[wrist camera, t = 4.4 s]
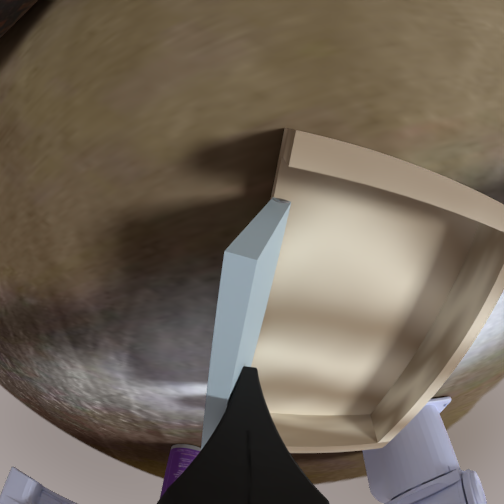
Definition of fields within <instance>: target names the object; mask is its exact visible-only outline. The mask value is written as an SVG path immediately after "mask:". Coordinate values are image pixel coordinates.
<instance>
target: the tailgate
mask: <svg viewBox="0 0 504 504" xmlns="http://www.w3.org/2000/svg"><path fill="white" fill-rule="evenodd" d="M290 206H291V201H287V200H285V199H281V198H274V197H273V198H272V199H271V200H270V201H269V202H268V203H267V204H266V205H265V207H264V208H263V209H262V210H261V211H260V212H259V213H258V214H257V215H256V217H255V218H254V219H253V220H252V221H251V222H250V223H249V224H248V225H247V226H246V228H245V229H244V230H243V231H242V232H241V233H240V234H239V235H238V237H237V238H236V239H235V240H234V241H233V242H232V243H231V244H230V245H229V247H228V248H227V249H226V250H225V251H224V258H223V265H222V272H221V280H220V287H219V295H218V302H217V310H216V318H215V325H214V334H213V342H212V350H211V359H210V367H209V376H208V385H207V394H206V404H205V414H204V424H203V434H202V445H201V450H202V448H203V447H204V445H205V444H206V443H207V441H208V440H209V438H210V437H211V435H212V434H213V432H214V430H215V429H216V427H217V425H218V424H219V422H220V420H221V418H222V416H223V414H224V412H225V410H226V408H227V406H228V404H229V402H230V399H231V397H232V395H233V392H234V389H235V387H236V384H237V380H238V377H239V375H240V373H241V370H242V368H243V366H247V367H251V364H252V361H253V357H254V353H255V349H256V345H257V342H258V338H259V334H260V330H261V326H262V322H263V318H264V314H265V310H266V306H267V303H268V298H269V294H270V290H271V286H272V282H273V278H274V274H275V270H276V266H277V262H278V257H279V253H280V249H281V245H282V240H283V236H284V232H285V228H286V223H287V219H288V214H289V210H290Z"/></svg>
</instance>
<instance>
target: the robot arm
mask: <svg viewBox="0 0 504 504" xmlns="http://www.w3.org/2000/svg"><path fill="white" fill-rule="evenodd" d="M450 401H451V397H443V398H436V399H430V400H429V401H428V403H427V404H426V405H425V406H424V407H423V408H422V409H421V410H420V412H419V413H418V414H417V415H416V416H415V417H414V418H413V419H412V420H411V421H410V422H409V423H408V424H407V425H406V426H405V427H404V428H403V429H402V430H401V431H400V432H399V433H398V434H397V435H396V436H395V437H394V438H393V439H392V440H391V441H390V442H389V443H388V444H386V445H385V446H384V447H383V448H378V449H369V450H362V451H363V456H364V461H365V466H366V471H367V477H368V482H369V488H370V491H371V493H372V495H373V496H374V497H375V498H376V499H377V500H378V501H379V502H382V503H384V504H487V502H486V497H485V494H484V490H483V487H482V484H481V482H480V479H479V477H478V475H477V473H476V472H475V471H472V470H469V469H467V470H466V471H462V470H460V467H459V464H458V461H457V458H456V456H455V453H454V450H453V447H452V445H451V442H450V439H449V437H448V434H447V432H446V429H445V427H444V424H443V422H442V419H441V417H440V414H439V413H440V412H441V411H442V410H443V409H444V408H445V407H446V406H447V405H448V404H449V402H450ZM0 504H77V503H75V502H73V501H71V500H69V499H67V498H64V497H62V496H60V495H58V494H57V493H55V492H53V491H51V490H49V489H47V488H45V487H44V486H42V485H41V484H40V483H39V482H37V481H35V480H34V479H32V478H31V477H29V476H27V475H26V474H24V473H23V472H21V471H19V470H18V469H17V468H15V467H11V470H10V472H9V475H8V477H7V480H6V482H5V485H4V487H3V490H2V492H1V495H0ZM157 504H329V501H328V500H327V499H326V498H325V497H324V496H323V495H322V494H321V493H320V492H319V490H317V488H316V487H315V486H314V485H313V484H312V483H311V481H310V480H309V479H308V478H307V477H306V475H305V474H304V473H303V471H302V470H301V469H300V467H299V466H298V464H297V463H296V462H295V460H294V459H293V457H292V456H291V454H290V452H289V451H288V449H287V448H286V446H285V444H284V442H283V440H282V439H281V437H280V435H279V433H278V431H277V429H276V426H275V424H274V422H273V420H272V417H271V415H270V412H269V410H268V407H267V404H266V402H265V399H264V395H263V392H262V389H261V385H260V381H259V376H258V370H257V368H254V367H247V366H243V368H242V370H241V373H240V375H239V377H238V380H237V384H236V387H235V389H234V392H233V395H232V397H231V399H230V402H229V404H228V406H227V408H226V410H225V412H224V414H223V416H222V418H221V420H220V422H219V424H218V425H217V427H216V429H215V430H214V432H213V434H212V435H211V437H210V438H209V440H208V441H207V443H206V444H205V445H204V447H203V448H202V450H201V451H200V452H199V454H198V455H197V456H196V458H195V459H194V460H193V461H192V462H191V464H190V465H189V466H188V467H187V468H186V469H185V471H184V472H183V473H182V474H181V475H180V476H179V477H178V478H177V479H176V480H175V481H174V482H173V483H172V484H171V485H170V486H169V487H168V488H167V490H166V491H165V493H164V494H163V495H162V497H161V498H160V500H159V501H158V503H157Z"/></svg>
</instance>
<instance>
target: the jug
mask: <svg viewBox="0 0 504 504" xmlns="http://www.w3.org/2000/svg"><path fill="white" fill-rule="evenodd" d="M37 1H38V0H0V37H1V36H2V35H4V34H5V33H6V32H7V31H8V30H9V29H10V28H11V27H12V26H13V25H14V24H15V23H16V22H17V21H18V20H19V19H20V18H21V17H22V16H23V15H24V14H25V13H26V12H27V11H28V10H29V9H30V8H31V7H32V6H33V5H34V4H35V3H36V2H37Z"/></svg>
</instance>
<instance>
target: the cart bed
mask: <svg viewBox="0 0 504 504" xmlns="http://www.w3.org/2000/svg"><path fill="white" fill-rule="evenodd" d="M273 197H274V198H281V199H285V200H287V201H291V206H290V210H289V214H288V219H287V223H286V228H285V232H284V236H283V240H282V245H281V249H280V253H279V257H278V262H277V266H276V270H275V274H274V278H273V282H272V286H271V290H270V294H269V298H268V303H267V306H266V310H265V314H264V318H263V322H262V326H261V330H260V334H259V338H258V342H257V345H256V349H255V353H254V357H253V361H252V364H251V367H254V368H257V370H258V376H259V381H260V385H261V389H262V392H263V395H264V399H265V402H266V404H267V407H268V410H269V412H270V415H271V417H272V420H273V422H274V424H275V426H276V429H277V431H278V433H279V435H280V437H281V439H282V440H283V442H284V444H285V446H286V448H287V449H288V451H289V452H290V453H330V452H348V451H360V450H369V449H378V448H383V447H384V446H385V445H386V444H388V443H389V442H390V441H391V440H392V439H393V438H394V437H395V436H396V435H397V434H398V433H399V432H400V431H401V430H402V429H403V428H404V427H405V426H406V425H407V424H408V423H409V422H410V421H411V420H412V419H413V418H414V417H415V416H416V415H417V414H418V413H419V412H420V410H421V409H422V408H423V407H424V406H425V405H426V404H427V403H428V401H429V400H430V399H431V398H432V397H433V396H434V394H435V393H436V392H437V391H438V390H439V388H440V387H441V386H442V385H443V384H444V382H445V381H446V380H447V378H448V377H449V376H450V375H451V373H452V372H453V371H454V369H455V368H456V367H457V365H458V364H459V362H460V361H461V360H462V358H463V357H464V355H465V354H466V353H467V351H468V350H469V348H470V347H471V345H472V344H473V342H474V341H475V339H476V337H477V336H478V334H479V333H480V331H481V329H482V328H483V326H484V324H485V323H486V321H487V319H488V318H489V316H490V314H491V312H492V311H493V309H494V307H495V305H496V303H497V301H498V300H499V298H500V296H501V294H502V292H503V290H504V204H502V203H500V202H498V201H496V200H494V199H492V198H490V197H488V196H486V195H484V194H482V193H480V192H478V191H476V190H474V189H472V188H470V187H468V186H465V185H463V184H461V183H459V182H456V181H454V180H452V179H450V178H447V177H445V176H442V175H440V174H438V173H435V172H433V171H430V170H428V169H425V168H422V167H420V166H417V165H414V164H412V163H409V162H406V161H403V160H401V159H398V158H395V157H392V156H389V155H386V154H383V153H380V152H377V151H373V150H370V149H367V148H364V147H360V146H357V145H353V144H350V143H346V142H343V141H339V140H335V139H331V138H327V137H323V136H319V135H315V134H311V133H306V132H302V131H297V130H293V129H288V128H284V134H283V139H282V144H281V149H280V154H279V159H278V164H277V169H276V174H275V179H274V184H273V189H272V194H271V199H272V198H273ZM271 199H270V200H271Z"/></svg>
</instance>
